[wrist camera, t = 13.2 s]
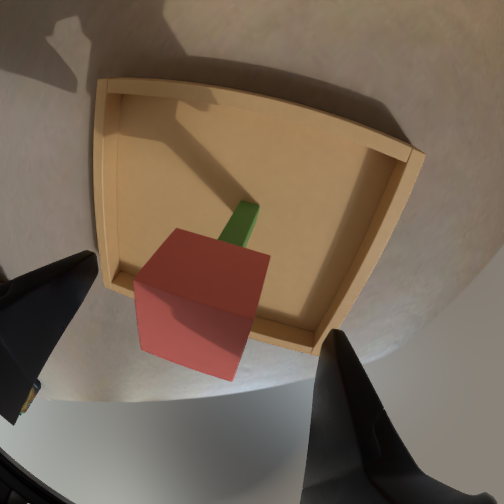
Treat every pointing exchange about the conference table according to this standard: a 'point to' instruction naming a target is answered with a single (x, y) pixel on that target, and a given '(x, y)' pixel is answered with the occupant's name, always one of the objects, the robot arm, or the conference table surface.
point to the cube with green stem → (202, 296)
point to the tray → (248, 192)
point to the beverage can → (31, 396)
